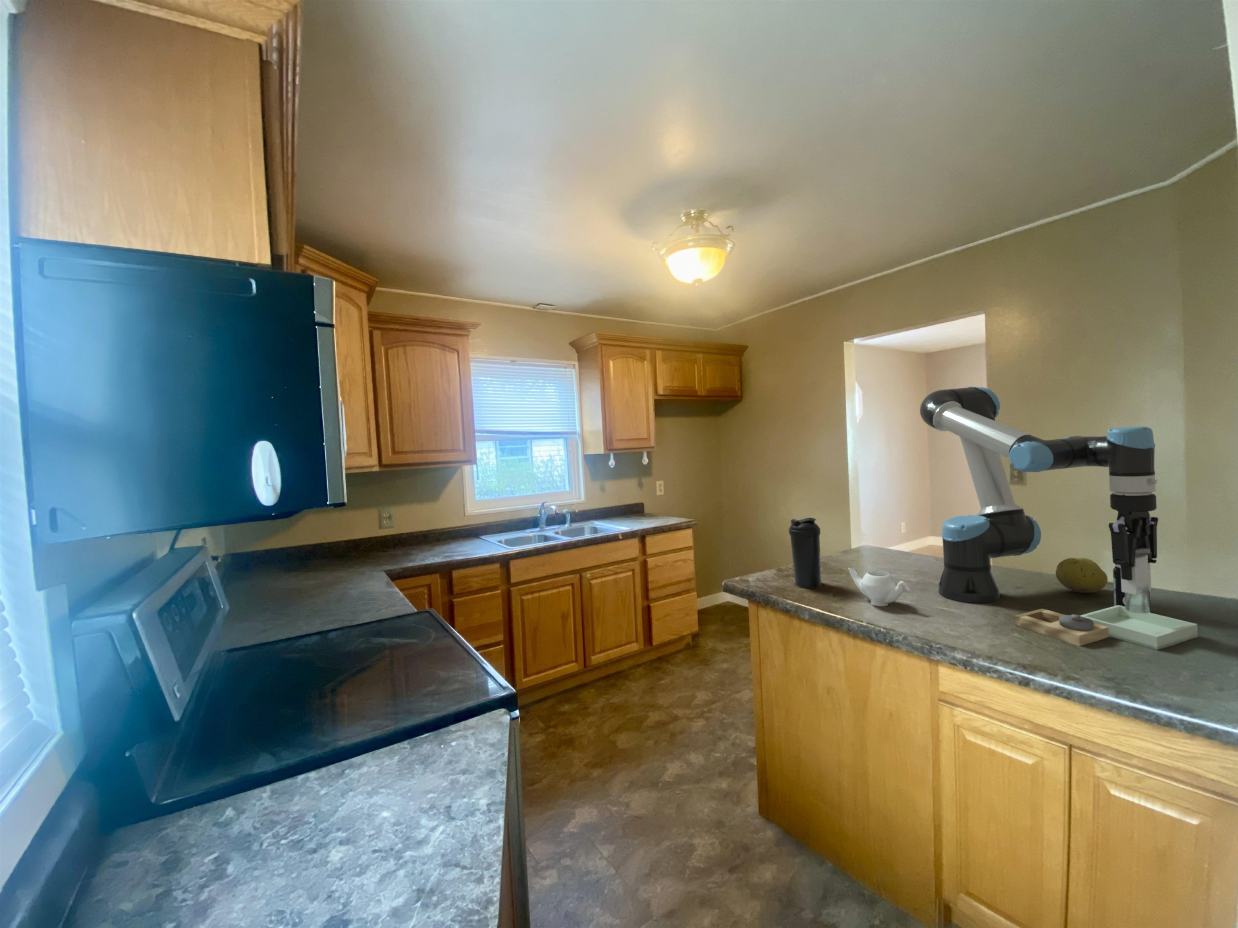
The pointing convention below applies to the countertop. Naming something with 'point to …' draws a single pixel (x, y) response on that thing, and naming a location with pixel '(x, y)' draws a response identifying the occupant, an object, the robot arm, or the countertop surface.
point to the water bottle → (806, 552)
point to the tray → (1143, 627)
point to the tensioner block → (1062, 626)
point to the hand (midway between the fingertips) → (1136, 590)
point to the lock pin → (1140, 584)
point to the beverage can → (1119, 587)
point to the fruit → (1081, 575)
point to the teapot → (878, 586)
